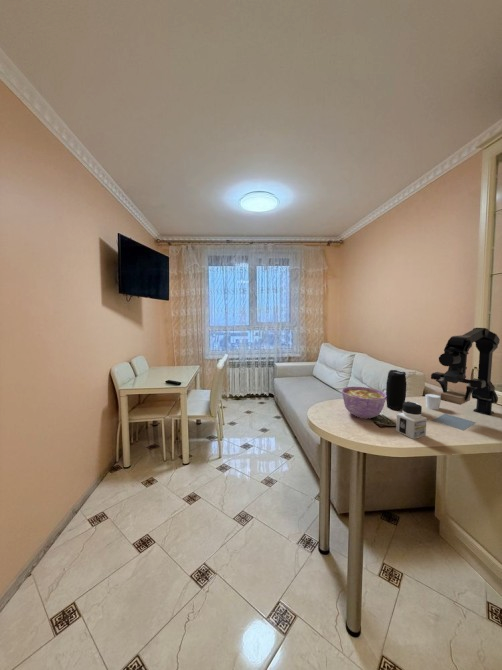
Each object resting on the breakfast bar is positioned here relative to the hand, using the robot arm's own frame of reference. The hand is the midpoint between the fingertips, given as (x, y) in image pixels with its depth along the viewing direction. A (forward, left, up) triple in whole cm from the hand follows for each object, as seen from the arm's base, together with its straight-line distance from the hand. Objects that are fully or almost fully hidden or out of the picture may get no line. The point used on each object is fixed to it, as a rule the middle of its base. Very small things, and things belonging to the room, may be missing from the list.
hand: (455, 397), depth 115 cm
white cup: (-11, -13, -12) cm, 21 cm away
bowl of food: (+29, -27, -12) cm, 41 cm away
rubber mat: (0, 0, -11) cm, 11 cm away
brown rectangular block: (0, 0, -1) cm, 1 cm away
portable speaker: (+5, -24, -12) cm, 27 cm away
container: (+29, -5, -12) cm, 32 cm away
